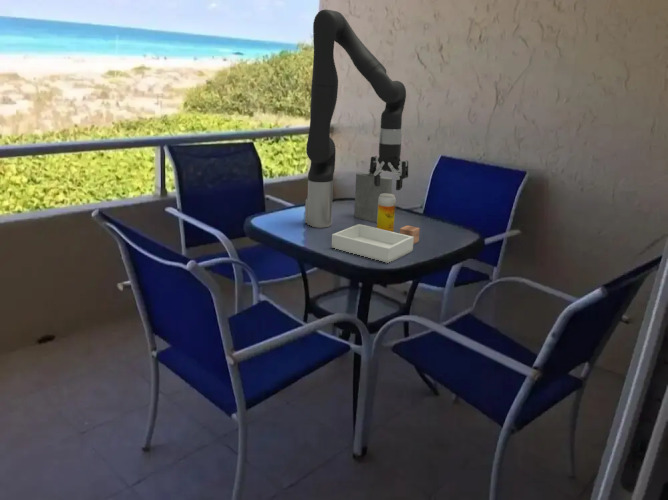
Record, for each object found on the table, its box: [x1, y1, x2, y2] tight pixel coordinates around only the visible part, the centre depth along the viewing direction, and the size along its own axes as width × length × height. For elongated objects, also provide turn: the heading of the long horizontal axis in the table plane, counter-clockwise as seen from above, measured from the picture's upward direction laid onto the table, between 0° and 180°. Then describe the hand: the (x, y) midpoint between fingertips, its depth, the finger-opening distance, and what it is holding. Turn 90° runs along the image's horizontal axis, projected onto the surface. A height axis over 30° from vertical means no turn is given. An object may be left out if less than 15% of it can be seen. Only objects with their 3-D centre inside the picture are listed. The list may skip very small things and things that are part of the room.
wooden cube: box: [399, 225, 420, 245], centre depth 203 cm, size 5×5×5 cm
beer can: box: [376, 193, 397, 232], centre depth 207 cm, size 6×6×15 cm
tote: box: [331, 223, 414, 264], centre depth 194 cm, size 22×16×5 cm
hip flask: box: [353, 168, 393, 223], centre depth 225 cm, size 16×4×20 cm, turn 54°
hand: (387, 188), depth 204 cm, fingers open, 8 cm apart
